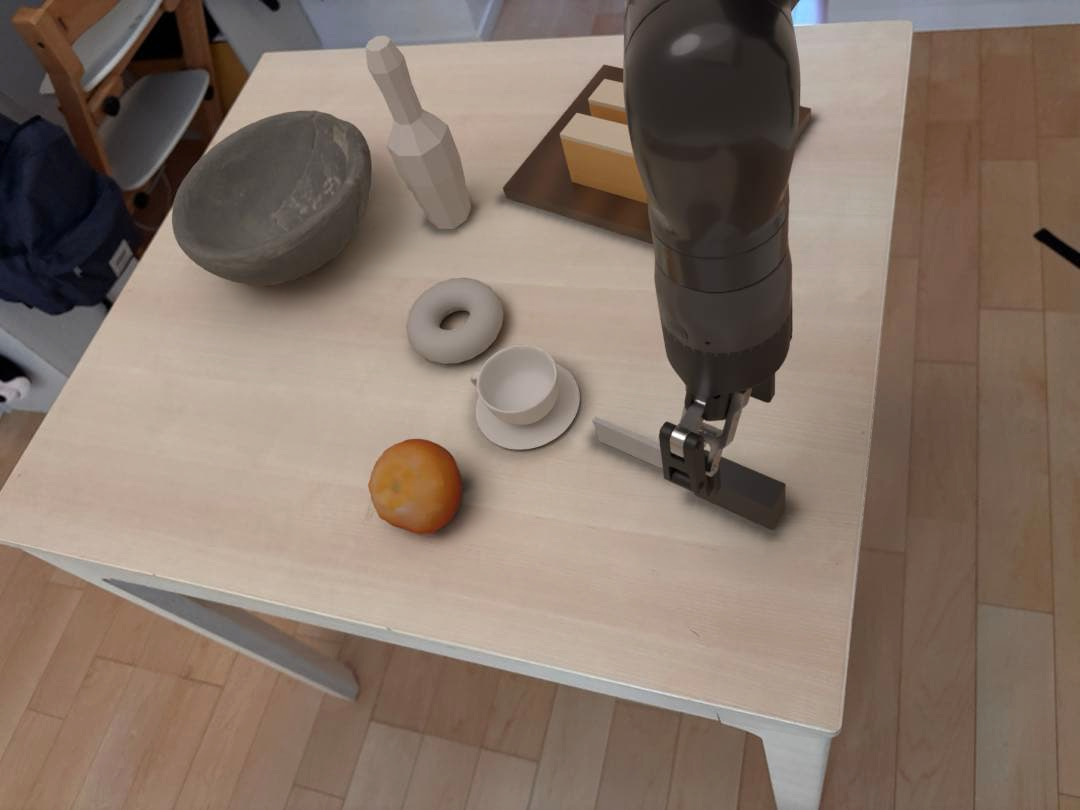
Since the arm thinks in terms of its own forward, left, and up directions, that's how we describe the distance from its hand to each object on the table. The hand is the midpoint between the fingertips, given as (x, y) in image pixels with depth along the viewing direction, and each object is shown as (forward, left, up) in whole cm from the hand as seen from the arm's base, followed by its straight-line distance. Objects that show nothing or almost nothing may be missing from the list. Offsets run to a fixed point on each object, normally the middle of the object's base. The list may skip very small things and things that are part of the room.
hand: (733, 439), depth 63 cm
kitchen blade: (+3, -3, -10) cm, 11 cm away
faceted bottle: (+22, -42, -10) cm, 49 cm away
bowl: (+40, -44, -10) cm, 61 cm away
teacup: (+16, -14, -10) cm, 24 cm away
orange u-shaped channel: (+1, -40, -9) cm, 41 cm away
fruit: (+26, -6, -10) cm, 29 cm away
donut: (+22, -25, -10) cm, 35 cm away
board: (-1, -42, -10) cm, 44 cm away
